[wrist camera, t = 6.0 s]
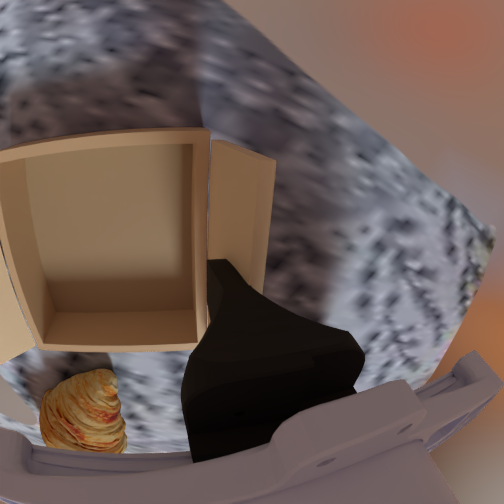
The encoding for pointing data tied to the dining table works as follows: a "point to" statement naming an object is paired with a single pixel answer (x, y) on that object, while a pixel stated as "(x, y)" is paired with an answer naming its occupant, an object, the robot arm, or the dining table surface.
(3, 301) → the flap
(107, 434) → the croissant
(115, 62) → the dining table surface
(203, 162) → the carton
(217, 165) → the flap
